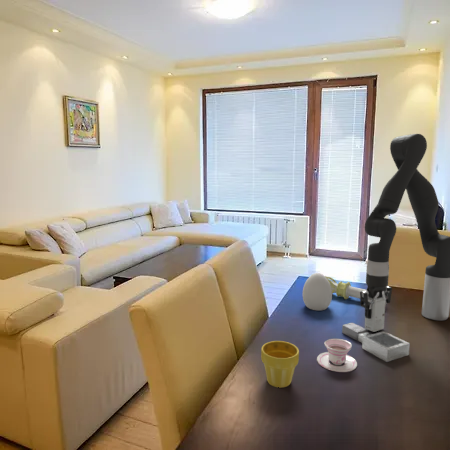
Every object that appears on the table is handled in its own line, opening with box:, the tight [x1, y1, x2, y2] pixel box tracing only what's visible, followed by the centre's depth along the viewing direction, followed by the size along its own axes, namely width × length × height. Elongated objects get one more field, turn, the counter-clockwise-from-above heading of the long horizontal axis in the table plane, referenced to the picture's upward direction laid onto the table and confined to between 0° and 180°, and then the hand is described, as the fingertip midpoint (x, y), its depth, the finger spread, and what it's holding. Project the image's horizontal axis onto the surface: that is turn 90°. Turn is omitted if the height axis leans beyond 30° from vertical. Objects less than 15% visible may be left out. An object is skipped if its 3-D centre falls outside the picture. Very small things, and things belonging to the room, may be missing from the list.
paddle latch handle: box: [341, 322, 411, 363], centre depth 131 cm, size 10×22×4 cm, turn 27°
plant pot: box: [260, 340, 300, 389], centre depth 108 cm, size 10×10×10 cm
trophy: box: [324, 275, 367, 300], centre depth 175 cm, size 8×8×30 cm
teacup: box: [316, 338, 358, 373], centre depth 119 cm, size 12×12×6 cm
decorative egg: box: [302, 272, 333, 311], centre depth 164 cm, size 12×12×15 cm
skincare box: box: [364, 297, 386, 333], centre depth 142 cm, size 6×4×12 cm
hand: (374, 316), depth 142 cm, fingers closed on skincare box, 6 cm apart
